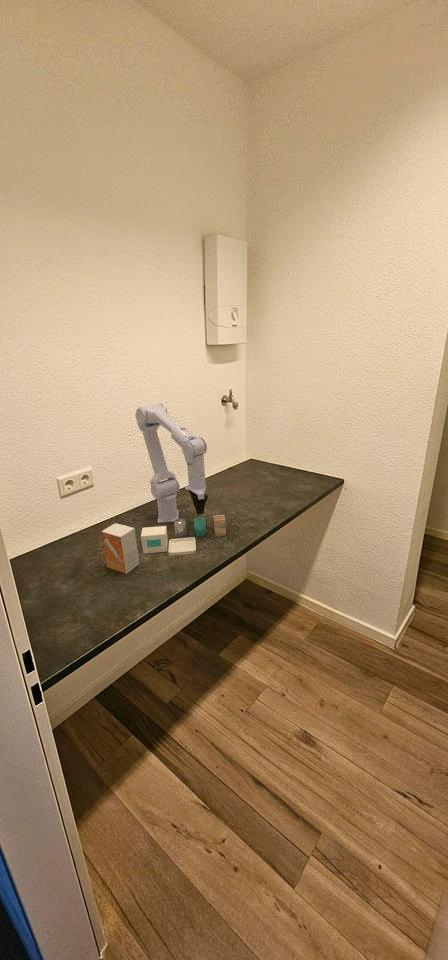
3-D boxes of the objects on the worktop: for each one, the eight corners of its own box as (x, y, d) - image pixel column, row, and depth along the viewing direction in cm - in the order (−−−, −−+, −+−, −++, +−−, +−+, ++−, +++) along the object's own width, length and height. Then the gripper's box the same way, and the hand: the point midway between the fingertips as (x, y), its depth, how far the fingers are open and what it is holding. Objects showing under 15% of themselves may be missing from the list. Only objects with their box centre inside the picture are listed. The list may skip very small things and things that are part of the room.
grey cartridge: (175, 533, 143) (174, 518, 140) (186, 532, 143) (185, 517, 141) (175, 539, 139) (173, 523, 137) (186, 538, 139) (185, 523, 137)
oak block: (214, 530, 144) (213, 515, 142) (225, 529, 144) (224, 514, 142) (215, 535, 140) (214, 520, 138) (226, 534, 140) (225, 519, 138)
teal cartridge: (194, 532, 143) (193, 517, 141) (205, 531, 143) (204, 516, 141) (195, 537, 139) (194, 522, 137) (206, 536, 140) (205, 521, 138)
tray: (169, 542, 137) (169, 539, 136) (195, 540, 138) (195, 537, 137) (168, 556, 128) (168, 553, 128) (196, 553, 129) (196, 550, 129)
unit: (144, 544, 137) (142, 527, 134) (168, 542, 137) (166, 525, 135) (142, 554, 130) (140, 536, 128) (167, 552, 131) (165, 534, 129)
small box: (106, 568, 124) (100, 531, 119) (121, 558, 129) (115, 522, 124) (126, 574, 120) (120, 536, 115) (140, 564, 125) (135, 527, 120)
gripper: (181, 468, 139) (184, 503, 144) (187, 482, 126) (190, 521, 131) (201, 466, 140) (203, 501, 145) (209, 480, 127) (211, 518, 132)
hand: (198, 510), depth 138 cm, fingers open, 5 cm apart
